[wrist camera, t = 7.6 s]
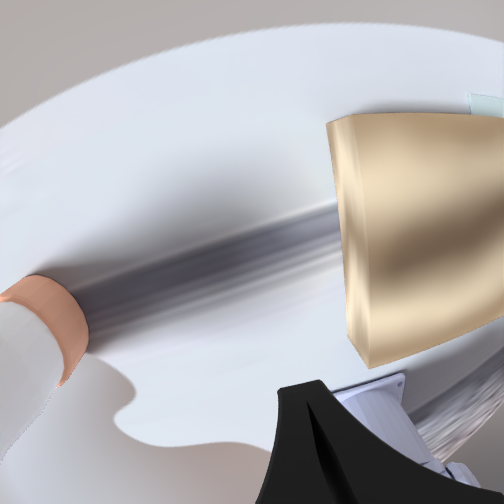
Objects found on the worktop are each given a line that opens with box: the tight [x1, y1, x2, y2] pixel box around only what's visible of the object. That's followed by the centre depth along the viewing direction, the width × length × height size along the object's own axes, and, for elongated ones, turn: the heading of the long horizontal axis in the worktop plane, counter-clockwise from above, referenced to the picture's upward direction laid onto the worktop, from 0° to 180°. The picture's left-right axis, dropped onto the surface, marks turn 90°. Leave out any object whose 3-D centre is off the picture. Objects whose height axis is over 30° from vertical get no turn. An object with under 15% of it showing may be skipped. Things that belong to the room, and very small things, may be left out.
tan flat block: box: [326, 113, 504, 369], centre depth 17 cm, size 14×12×4 cm
